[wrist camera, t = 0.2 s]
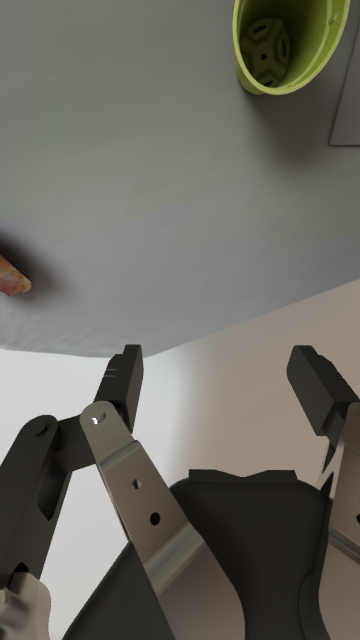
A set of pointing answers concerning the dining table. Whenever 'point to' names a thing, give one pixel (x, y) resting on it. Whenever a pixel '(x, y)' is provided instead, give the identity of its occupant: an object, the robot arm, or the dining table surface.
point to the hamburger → (12, 279)
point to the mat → (349, 103)
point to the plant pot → (298, 34)
